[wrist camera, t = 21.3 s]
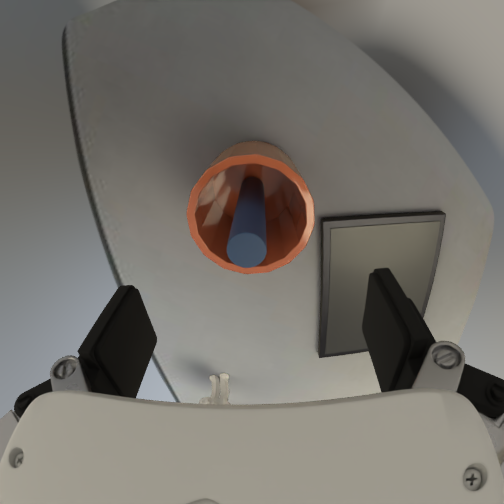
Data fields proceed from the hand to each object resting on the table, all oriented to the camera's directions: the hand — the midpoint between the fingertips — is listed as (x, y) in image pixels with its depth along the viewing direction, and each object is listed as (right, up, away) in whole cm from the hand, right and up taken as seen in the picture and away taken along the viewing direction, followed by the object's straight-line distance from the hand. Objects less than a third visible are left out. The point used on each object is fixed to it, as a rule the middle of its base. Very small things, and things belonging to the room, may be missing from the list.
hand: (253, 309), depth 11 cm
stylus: (0, +8, +16) cm, 18 cm away
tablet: (+16, -2, +22) cm, 27 cm away
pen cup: (0, +9, +17) cm, 19 cm away
